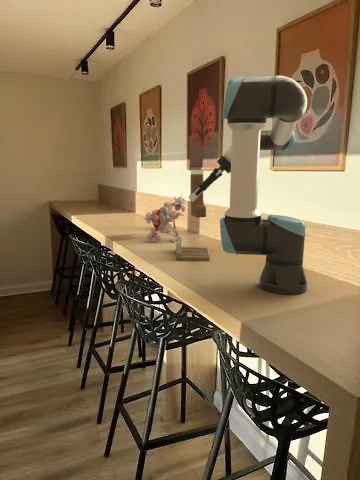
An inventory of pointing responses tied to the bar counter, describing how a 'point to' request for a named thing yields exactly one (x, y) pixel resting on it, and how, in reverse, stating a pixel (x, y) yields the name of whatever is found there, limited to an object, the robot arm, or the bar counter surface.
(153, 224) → the red rounded piece
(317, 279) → the bar counter surface
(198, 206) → the wooden block
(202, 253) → the walnut edge board
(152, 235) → the flower
